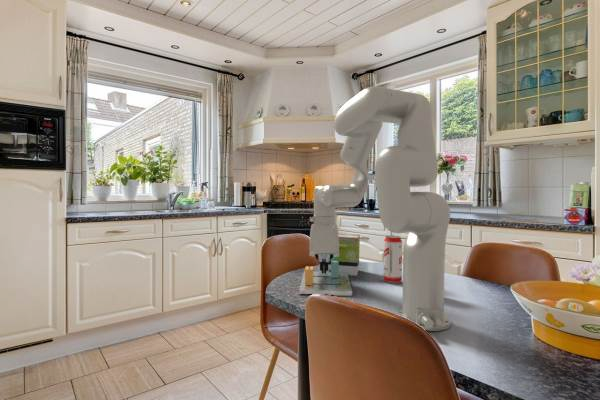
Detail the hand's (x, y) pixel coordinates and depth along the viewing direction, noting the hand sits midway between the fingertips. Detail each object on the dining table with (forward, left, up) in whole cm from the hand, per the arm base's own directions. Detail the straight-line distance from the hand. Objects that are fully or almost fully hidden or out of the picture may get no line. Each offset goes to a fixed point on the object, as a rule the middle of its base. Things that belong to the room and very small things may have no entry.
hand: (323, 272), depth 122 cm
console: (-5, 0, -3) cm, 6 cm away
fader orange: (-10, +5, -1) cm, 11 cm away
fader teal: (0, -4, -1) cm, 4 cm away
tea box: (+14, -6, -3) cm, 16 cm away
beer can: (+1, -24, -3) cm, 24 cm away
